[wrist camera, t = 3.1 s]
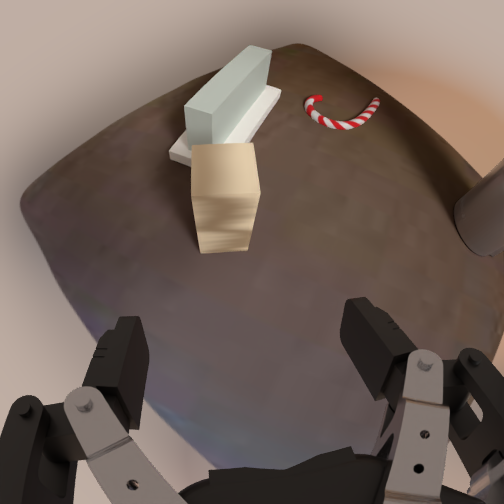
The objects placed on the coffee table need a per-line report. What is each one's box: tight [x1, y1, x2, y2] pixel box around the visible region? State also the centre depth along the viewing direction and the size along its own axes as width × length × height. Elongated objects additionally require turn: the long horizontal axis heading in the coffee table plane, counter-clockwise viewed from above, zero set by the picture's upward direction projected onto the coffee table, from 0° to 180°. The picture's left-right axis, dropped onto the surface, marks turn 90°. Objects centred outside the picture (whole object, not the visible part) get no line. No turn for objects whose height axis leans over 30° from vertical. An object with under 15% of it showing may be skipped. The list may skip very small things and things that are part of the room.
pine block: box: [191, 143, 260, 253], centre depth 24 cm, size 4×4×10 cm
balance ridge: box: [169, 45, 281, 167], centre depth 31 cm, size 7×17×8 cm, turn 156°
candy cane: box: [304, 95, 380, 130], centre depth 38 cm, size 8×1×15 cm
